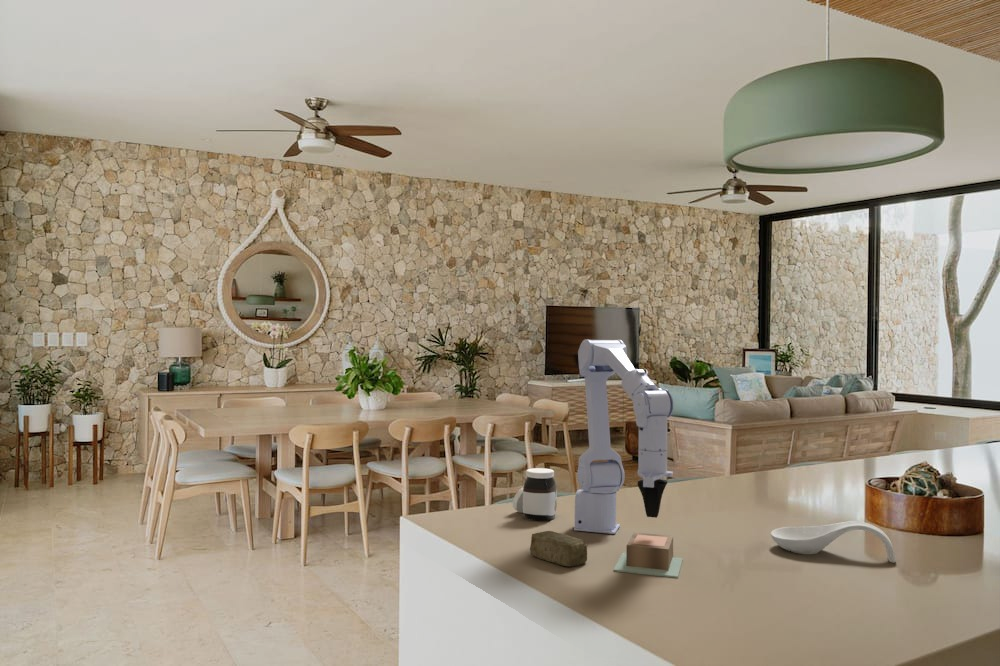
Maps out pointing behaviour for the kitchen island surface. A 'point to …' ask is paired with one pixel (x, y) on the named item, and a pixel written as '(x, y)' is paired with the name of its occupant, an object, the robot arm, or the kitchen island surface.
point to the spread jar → (537, 495)
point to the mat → (672, 571)
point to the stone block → (558, 548)
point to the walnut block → (650, 551)
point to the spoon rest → (824, 537)
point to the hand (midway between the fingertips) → (652, 516)
